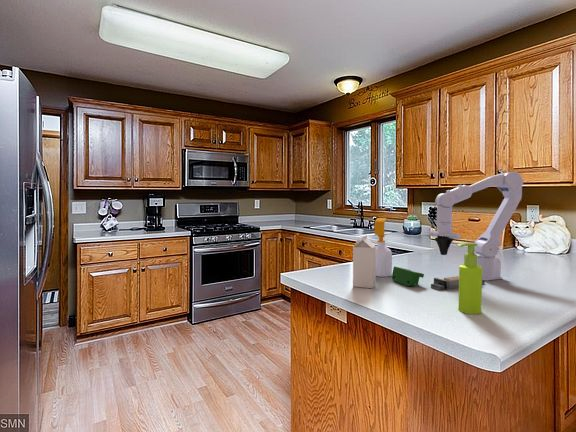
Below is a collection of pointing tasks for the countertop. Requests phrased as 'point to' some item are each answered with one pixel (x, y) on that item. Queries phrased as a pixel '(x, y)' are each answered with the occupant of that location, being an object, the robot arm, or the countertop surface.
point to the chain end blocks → (446, 284)
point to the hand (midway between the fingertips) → (443, 254)
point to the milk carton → (364, 263)
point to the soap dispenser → (470, 282)
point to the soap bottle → (382, 251)
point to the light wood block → (452, 278)
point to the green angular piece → (406, 276)
